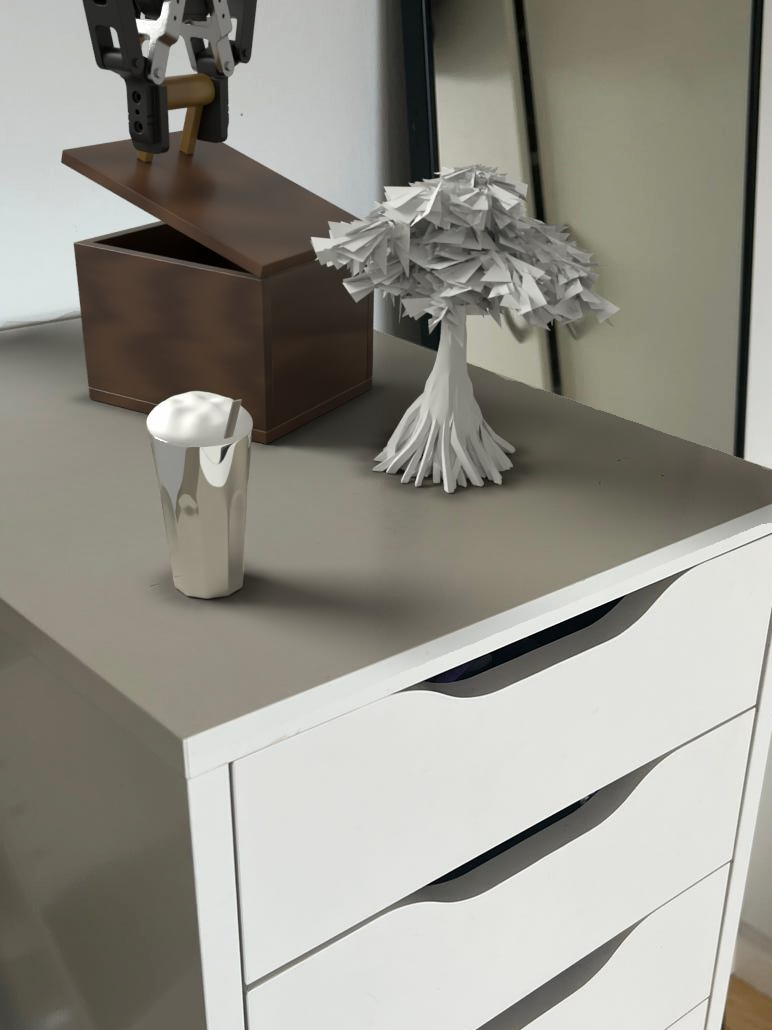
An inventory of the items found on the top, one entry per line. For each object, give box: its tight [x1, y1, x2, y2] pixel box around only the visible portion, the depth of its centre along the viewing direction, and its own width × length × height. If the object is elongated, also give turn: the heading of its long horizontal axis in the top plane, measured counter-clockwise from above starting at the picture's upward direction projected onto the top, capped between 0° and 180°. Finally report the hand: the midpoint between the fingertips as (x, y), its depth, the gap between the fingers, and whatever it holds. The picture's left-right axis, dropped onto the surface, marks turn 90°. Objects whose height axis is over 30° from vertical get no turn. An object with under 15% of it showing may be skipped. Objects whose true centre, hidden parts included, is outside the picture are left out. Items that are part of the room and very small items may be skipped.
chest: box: [73, 220, 375, 445], centre depth 78 cm, size 14×13×10 cm
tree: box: [310, 163, 621, 494], centre depth 68 cm, size 18×16×17 cm
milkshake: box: [146, 391, 253, 600], centre depth 55 cm, size 4×5×10 cm
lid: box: [60, 72, 364, 278], centre depth 73 cm, size 14×13×6 cm
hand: (181, 144), depth 74 cm, fingers closed on lid, 5 cm apart
